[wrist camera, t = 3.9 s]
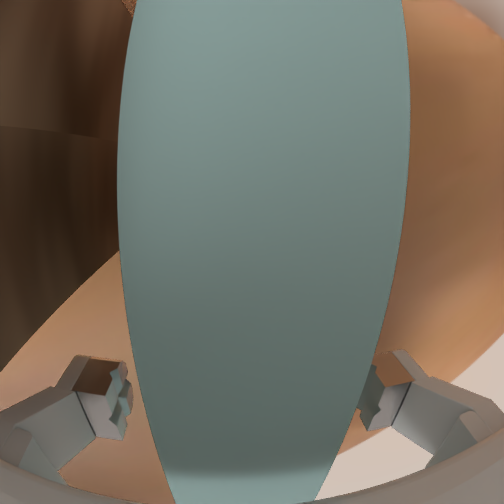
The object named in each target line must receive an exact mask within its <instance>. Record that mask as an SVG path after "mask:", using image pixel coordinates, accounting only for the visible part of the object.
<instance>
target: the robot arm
mask: <svg viewBox="0 0 504 504" xmlns="http://www.w3.org/2000/svg"><path fill="white" fill-rule="evenodd" d="M127 373H128V370H127V367H126V363H125V362H124V361H122V360H114V359H107V358H99V357H91V356H84V355H76V356H75V357H74V358H73V360H72V361H71V363H70V364H69V366H68V367H67V369H66V370H65V372H64V373H63V375H62V377H61V378H60V380H59V381H58V383H57V385H56V386H55V387H49V388H47V389H45V390H43V391H41V392H39V393H37V394H35V395H33V396H31V397H29V398H27V399H25V400H23V401H21V402H19V403H17V404H15V405H13V406H11V407H9V408H7V409H5V410H3V411H1V412H0V504H146V503H140V502H133V501H128V500H122V499H117V498H113V497H108V496H104V495H99V494H95V493H91V492H88V491H84V490H80V489H77V488H73V487H70V486H68V484H67V482H66V481H65V480H64V479H63V477H62V476H61V475H60V474H59V472H58V470H59V469H60V468H62V467H63V466H64V465H65V464H66V463H68V462H69V461H70V460H71V459H72V458H73V457H75V456H76V455H77V454H78V453H79V452H80V451H81V450H83V449H84V448H85V447H86V446H87V445H88V444H90V443H91V442H92V441H93V440H94V439H95V438H96V437H102V438H108V439H115V440H122V441H123V438H124V434H125V431H126V428H127V421H126V418H125V417H126V416H127V415H129V414H130V413H131V410H132V407H133V390H132V386H131V383H130V382H129V381H128V380H127V379H126V376H127ZM356 408H358V409H360V410H362V411H361V414H360V418H361V420H362V422H363V424H364V426H365V428H366V430H367V431H371V430H376V429H380V428H385V427H389V426H392V428H394V429H395V430H396V431H398V432H399V433H401V434H402V435H404V436H405V437H407V438H408V439H410V440H411V441H413V442H414V443H416V444H417V445H419V446H420V447H422V448H423V449H425V450H426V451H428V452H430V453H431V454H433V455H434V456H433V457H432V458H431V460H430V461H429V463H428V464H427V465H426V468H425V469H423V470H420V471H418V472H415V473H413V474H410V475H407V476H405V477H402V478H399V479H396V480H393V481H390V482H387V483H384V484H381V485H378V486H375V487H371V488H367V489H364V490H360V491H357V492H352V493H348V494H344V495H340V496H335V497H331V498H326V499H321V500H315V501H309V502H303V503H296V504H504V413H503V412H502V411H501V410H500V409H499V408H498V406H497V405H496V404H495V403H494V402H493V401H492V400H491V399H488V398H486V397H483V396H481V395H478V394H475V393H473V392H470V391H468V390H465V389H463V388H460V387H458V386H455V385H452V384H450V383H448V382H445V381H443V380H440V379H438V378H435V377H428V376H427V374H426V373H425V372H424V371H423V370H422V369H421V367H420V366H419V365H418V364H417V363H416V362H415V361H414V360H413V358H412V357H411V356H410V355H409V354H408V353H407V352H406V351H405V350H403V349H399V350H394V351H389V352H386V353H380V354H374V357H373V360H372V363H371V366H370V369H369V372H368V376H367V379H366V382H365V385H364V387H363V390H362V393H361V396H360V399H359V401H358V404H357V407H356ZM95 436H96V437H95Z"/></svg>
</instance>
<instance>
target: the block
mask: <svg viewBox="0 0 504 504" xmlns="http://www.w3.org/2000/svg"><path fill="white" fill-rule="evenodd" d="M132 21H133V18H132V16H131V15H130V13H129V12H128V10H127V9H126V7H125V6H124V4H123V2H122V1H121V0H0V372H1V371H2V370H3V368H4V367H5V366H6V365H7V364H8V362H9V361H10V360H11V359H12V358H13V357H14V355H15V354H16V353H17V352H18V351H19V350H20V349H21V347H22V346H23V345H24V344H25V343H26V342H27V341H28V340H29V338H30V337H31V336H32V335H33V334H34V333H35V332H36V331H37V330H38V329H39V328H40V327H41V325H42V324H43V323H44V322H45V321H46V320H47V319H48V318H49V317H50V316H51V315H52V314H53V313H54V312H55V311H56V310H57V309H58V308H59V307H60V306H61V305H62V304H63V303H64V302H65V301H66V300H67V299H68V298H69V297H70V296H71V295H72V294H73V293H74V292H75V291H76V290H77V289H78V288H79V287H80V286H81V285H82V284H83V283H84V282H85V281H86V280H87V279H88V278H89V277H90V276H91V275H93V274H94V273H95V272H96V271H97V270H98V269H99V268H100V267H101V266H102V265H103V264H104V263H106V262H107V261H108V260H109V259H110V258H111V257H112V256H113V255H114V254H115V253H117V252H118V251H119V250H120V249H119V233H118V209H117V155H118V132H119V116H120V104H121V94H122V84H123V76H124V68H125V61H126V55H127V48H128V42H129V37H130V31H131V26H132Z"/></svg>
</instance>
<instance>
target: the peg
mask: <svg viewBox="0 0 504 504" xmlns="http://www.w3.org/2000/svg"><path fill="white" fill-rule="evenodd" d="M409 147H410V79H409V62H408V49H407V39H406V30H405V22H404V15H403V9H402V2H401V0H137V3H136V7H135V11H134V16H133V21H132V26H131V31H130V37H129V42H128V48H127V55H126V61H125V68H124V76H123V84H122V94H121V104H120V116H119V132H118V155H117V209H118V233H119V249H120V261H121V272H122V282H123V291H124V299H125V307H126V314H127V321H128V327H129V334H130V340H131V345H132V351H133V356H134V361H135V367H136V371H137V376H138V381H139V385H140V390H141V394H142V398H143V402H144V406H145V410H146V414H147V418H148V422H149V425H150V429H151V432H152V436H153V439H154V443H155V446H156V449H157V452H158V455H159V459H160V462H161V465H162V468H163V471H164V473H165V476H166V479H167V482H168V485H169V487H170V490H171V493H172V495H173V498H174V500H175V503H176V504H296V503H303V502H309V501H314V499H315V498H316V496H317V494H318V492H319V490H320V488H321V486H322V484H323V482H324V480H325V478H326V476H327V474H328V472H329V470H330V468H331V466H332V464H333V462H334V460H335V458H336V455H337V453H338V451H339V449H340V446H341V444H342V442H343V439H344V437H345V435H346V432H347V430H348V427H349V425H350V422H351V420H352V417H353V415H354V412H355V410H356V407H357V404H358V401H359V399H360V396H361V393H362V390H363V387H364V385H365V382H366V379H367V376H368V372H369V369H370V366H371V363H372V360H373V357H374V353H375V350H376V346H377V343H378V339H379V336H380V332H381V328H382V325H383V321H384V317H385V313H386V309H387V304H388V300H389V296H390V291H391V286H392V282H393V277H394V272H395V267H396V261H397V256H398V250H399V244H400V237H401V231H402V224H403V216H404V208H405V199H406V190H407V179H408V165H409Z"/></svg>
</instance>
